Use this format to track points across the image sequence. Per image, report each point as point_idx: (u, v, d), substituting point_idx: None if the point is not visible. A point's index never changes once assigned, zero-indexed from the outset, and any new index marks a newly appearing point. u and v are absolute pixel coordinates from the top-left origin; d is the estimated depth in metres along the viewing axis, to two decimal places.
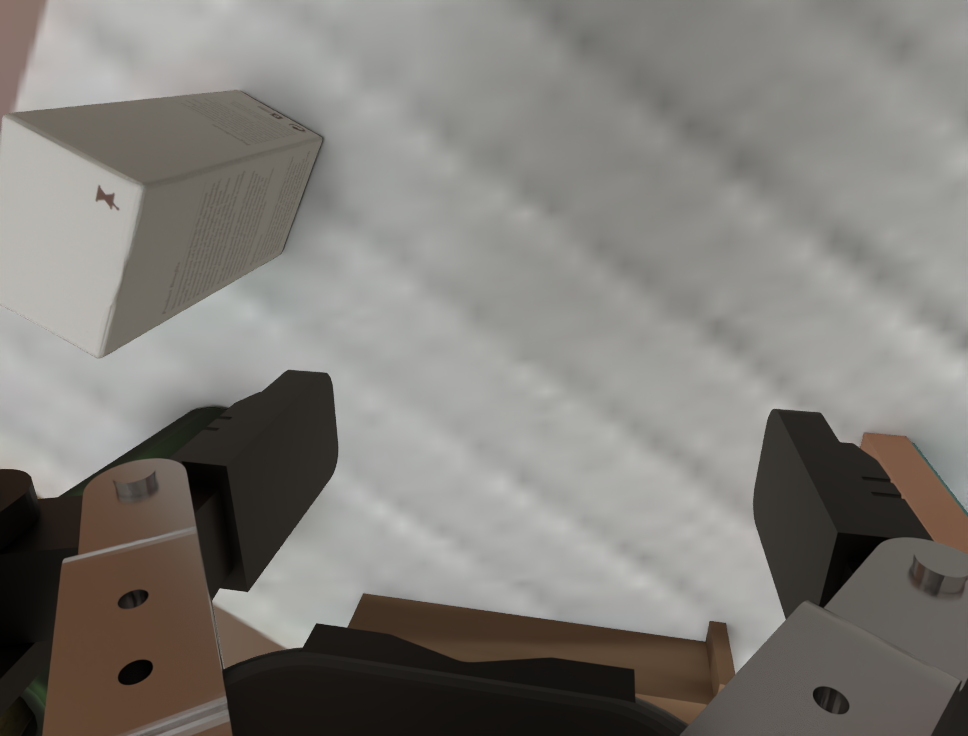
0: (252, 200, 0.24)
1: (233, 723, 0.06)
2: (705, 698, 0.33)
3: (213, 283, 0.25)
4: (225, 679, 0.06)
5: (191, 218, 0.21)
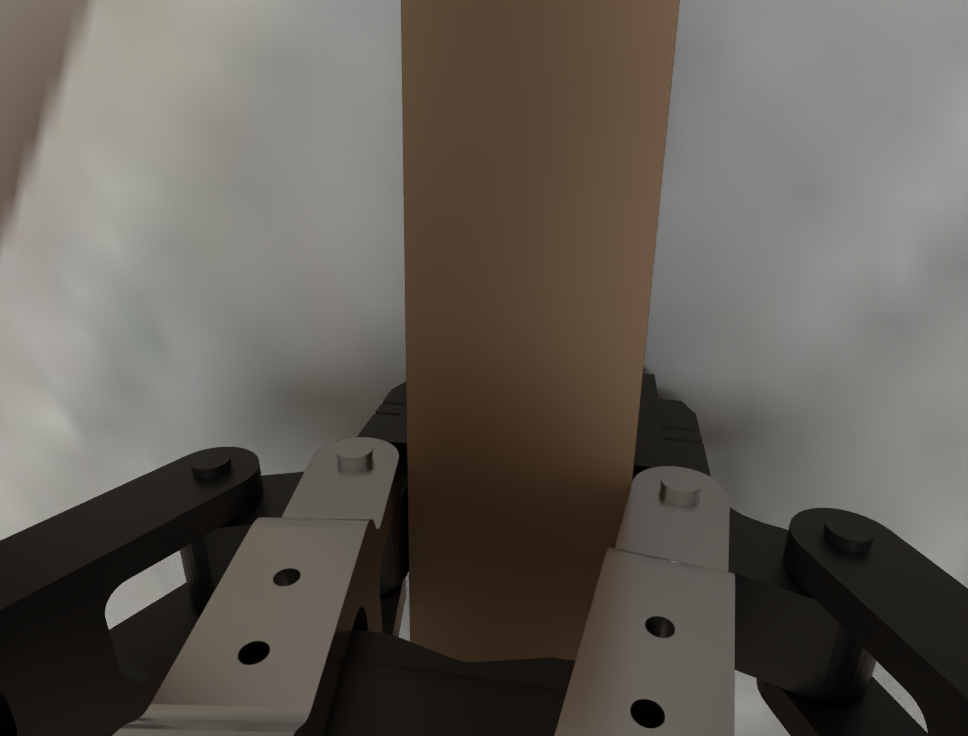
0: None
1: None
2: None
3: None
4: (341, 686, 0.06)
5: None
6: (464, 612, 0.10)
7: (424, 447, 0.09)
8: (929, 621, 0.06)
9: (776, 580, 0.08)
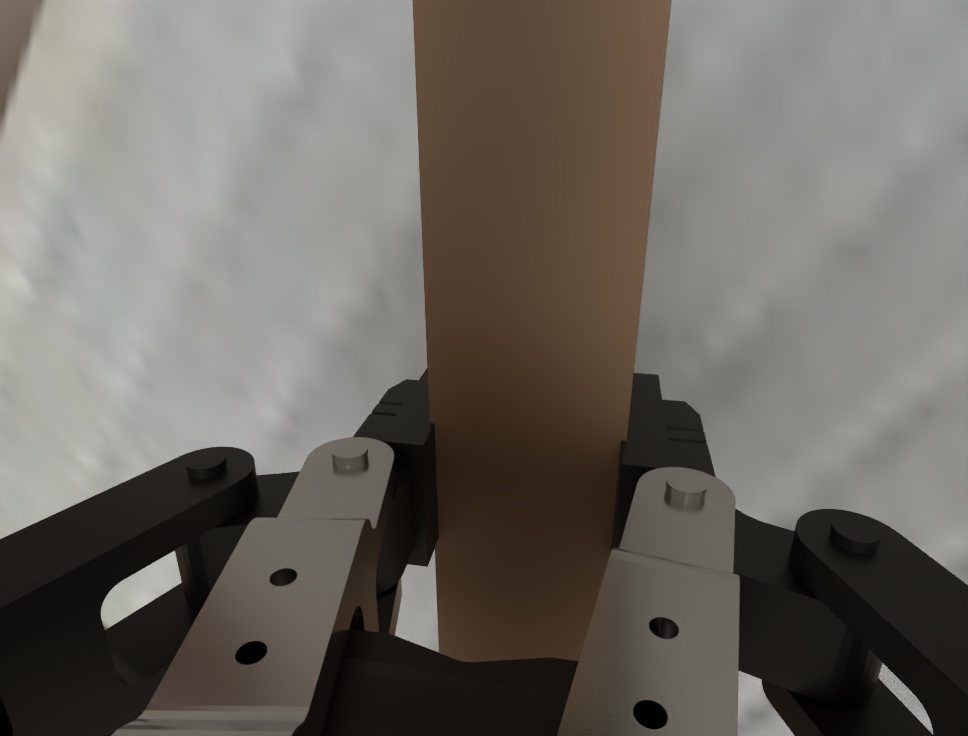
0: None
1: None
2: None
3: None
4: (339, 685, 0.06)
5: None
6: (482, 551, 0.11)
7: (444, 414, 0.10)
8: (936, 623, 0.06)
9: (782, 581, 0.08)
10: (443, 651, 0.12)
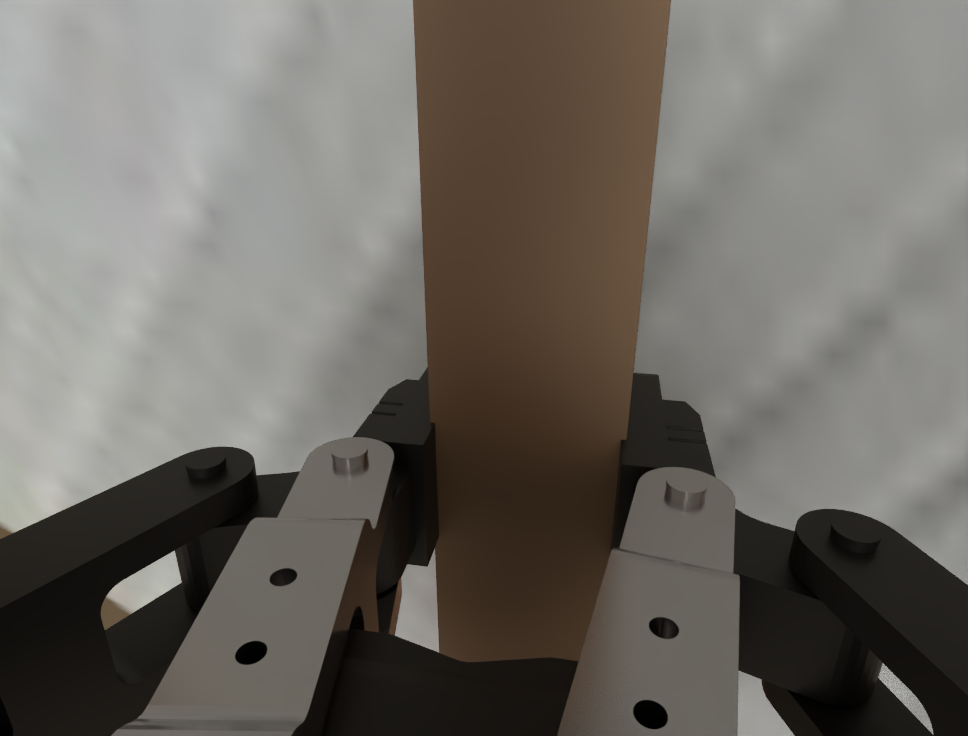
0: None
1: None
2: None
3: None
4: (339, 685, 0.06)
5: None
6: (482, 550, 0.11)
7: (444, 413, 0.10)
8: (936, 623, 0.06)
9: (782, 581, 0.08)
10: (443, 650, 0.12)
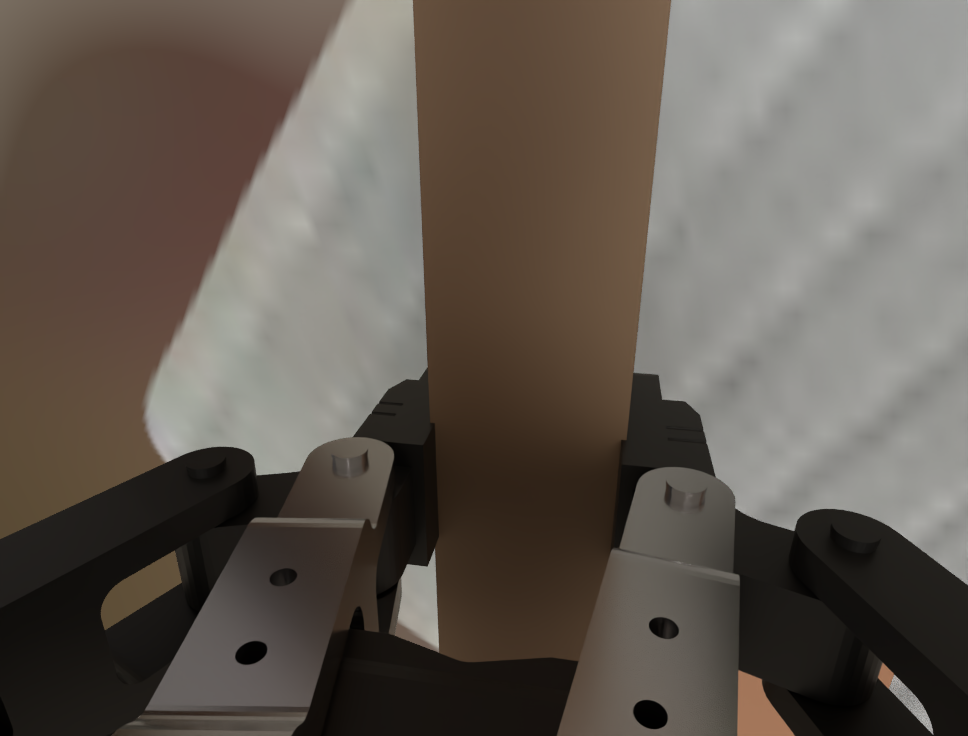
0: None
1: None
2: None
3: None
4: (339, 685, 0.06)
5: None
6: (481, 552, 0.11)
7: (444, 416, 0.10)
8: (935, 623, 0.06)
9: (782, 581, 0.08)
10: (443, 652, 0.12)
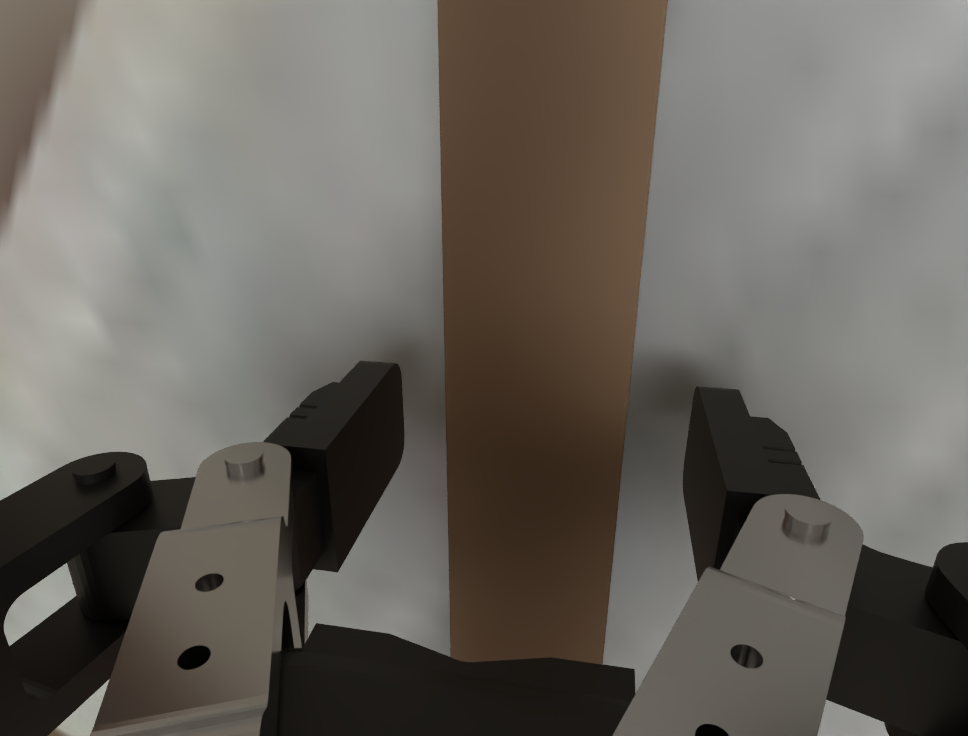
0: None
1: (280, 724, 0.05)
2: None
3: None
4: (282, 676, 0.06)
5: None
6: (492, 513, 0.12)
7: (459, 380, 0.11)
8: None
9: (924, 623, 0.07)
10: (454, 614, 0.13)
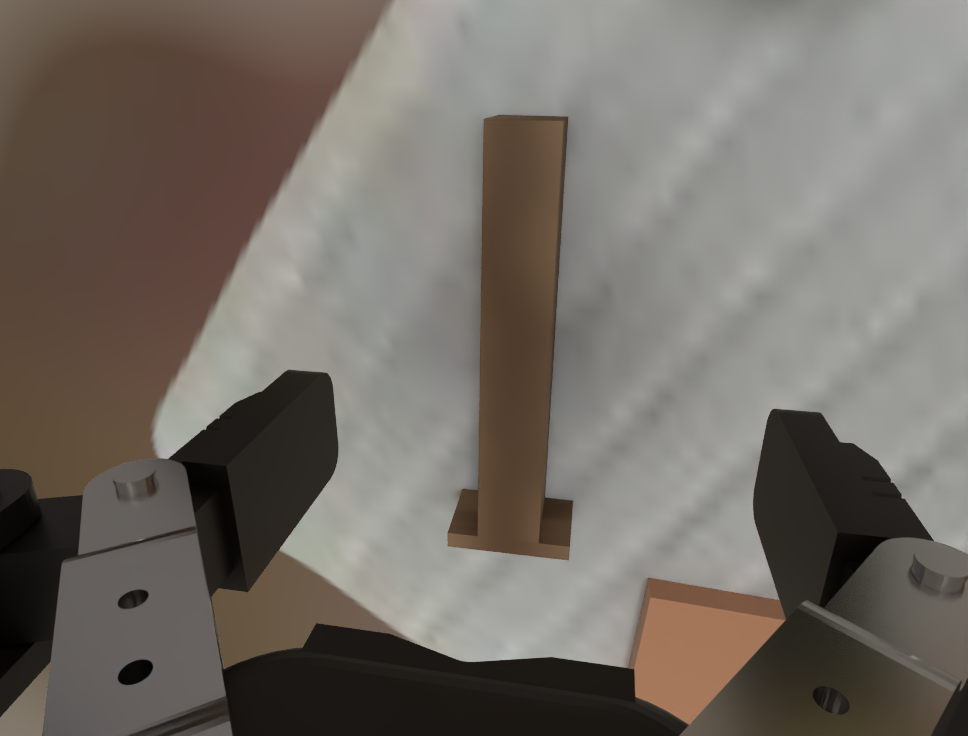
0: None
1: (233, 723, 0.06)
2: (539, 531, 0.32)
3: None
4: (225, 679, 0.06)
5: None
6: (499, 352, 0.29)
7: (486, 294, 0.28)
8: None
9: None
10: (481, 402, 0.30)
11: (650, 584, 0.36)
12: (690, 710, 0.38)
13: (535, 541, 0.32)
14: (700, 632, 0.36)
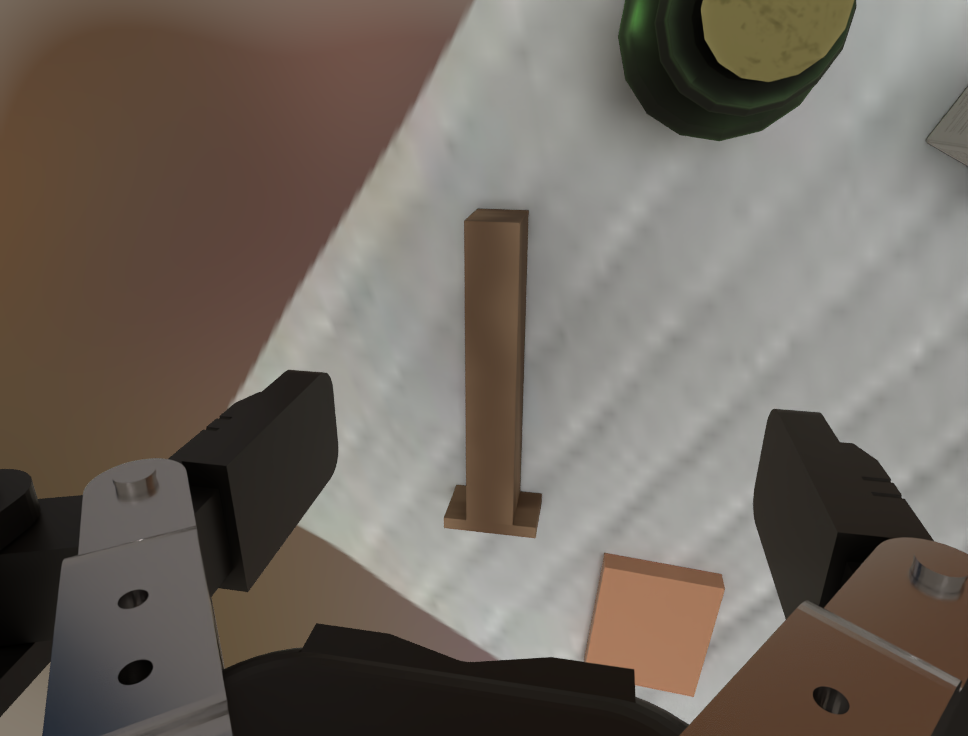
0: None
1: (233, 723, 0.06)
2: (513, 516, 0.43)
3: None
4: (225, 679, 0.06)
5: None
6: (479, 383, 0.39)
7: (469, 341, 0.38)
8: None
9: None
10: (467, 419, 0.40)
11: (605, 557, 0.46)
12: (637, 659, 0.48)
13: (510, 524, 0.43)
14: (643, 595, 0.46)
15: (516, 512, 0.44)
